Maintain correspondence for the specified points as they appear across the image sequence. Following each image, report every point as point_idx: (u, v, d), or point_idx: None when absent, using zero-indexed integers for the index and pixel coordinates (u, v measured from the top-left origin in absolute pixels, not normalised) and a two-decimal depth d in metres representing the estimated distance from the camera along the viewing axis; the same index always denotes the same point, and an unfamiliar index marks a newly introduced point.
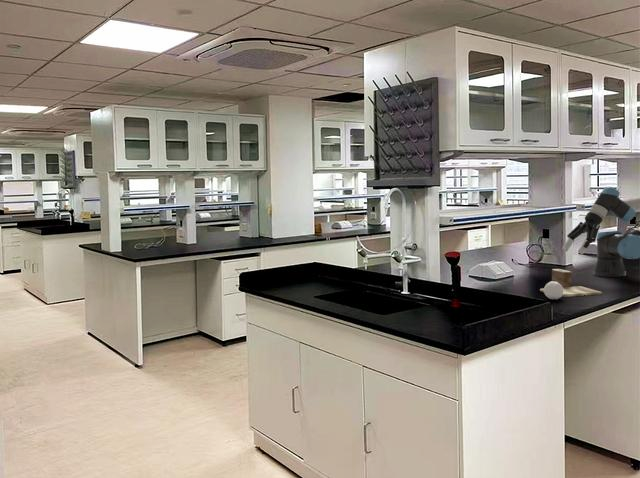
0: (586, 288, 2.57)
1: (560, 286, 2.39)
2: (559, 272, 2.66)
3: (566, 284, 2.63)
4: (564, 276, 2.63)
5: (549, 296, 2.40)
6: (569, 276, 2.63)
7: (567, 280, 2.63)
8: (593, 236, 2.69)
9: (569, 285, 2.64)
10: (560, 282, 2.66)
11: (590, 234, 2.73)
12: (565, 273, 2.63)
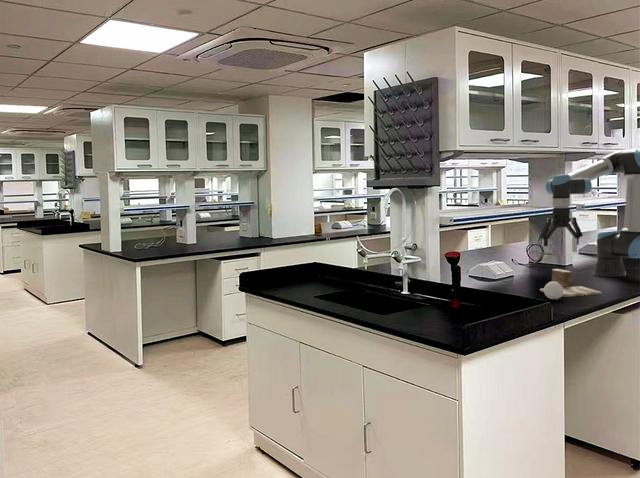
0: (586, 288, 2.57)
1: (560, 286, 2.39)
2: (559, 272, 2.66)
3: (566, 284, 2.63)
4: (564, 276, 2.63)
5: (549, 296, 2.40)
6: (569, 276, 2.63)
7: (567, 280, 2.63)
8: None
9: (569, 285, 2.64)
10: (560, 282, 2.66)
11: None
12: (565, 273, 2.63)
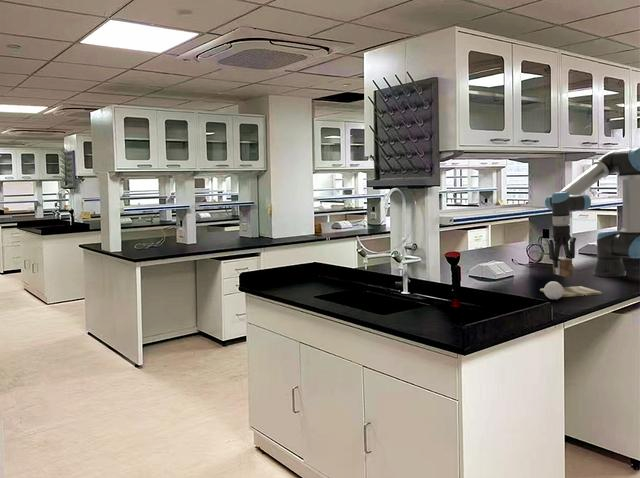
0: (586, 288, 2.57)
1: (560, 286, 2.39)
2: (560, 260, 2.66)
3: (567, 272, 2.63)
4: (565, 264, 2.63)
5: (549, 296, 2.40)
6: (570, 263, 2.63)
7: (568, 268, 2.63)
8: None
9: (570, 272, 2.63)
10: (561, 270, 2.65)
11: None
12: (566, 261, 2.63)
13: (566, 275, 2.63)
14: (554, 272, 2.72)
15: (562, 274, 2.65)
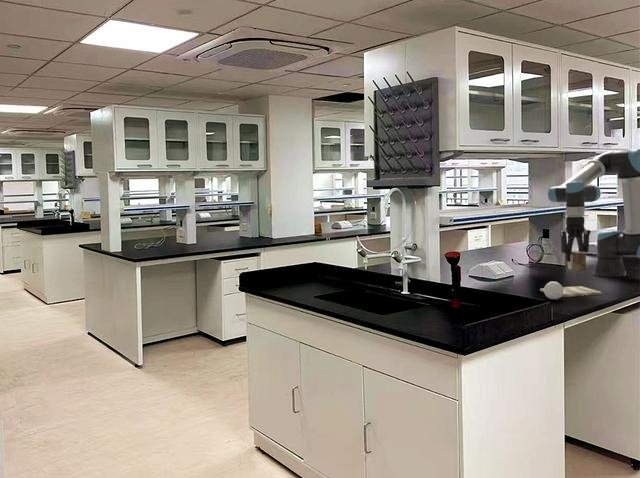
0: (586, 288, 2.57)
1: (560, 286, 2.39)
2: (573, 253, 2.51)
3: (580, 266, 2.48)
4: (578, 257, 2.48)
5: (549, 296, 2.40)
6: (584, 257, 2.48)
7: (581, 261, 2.48)
8: None
9: (583, 267, 2.49)
10: (574, 264, 2.51)
11: None
12: (579, 254, 2.48)
13: (579, 269, 2.49)
14: (566, 266, 2.57)
15: (575, 268, 2.50)
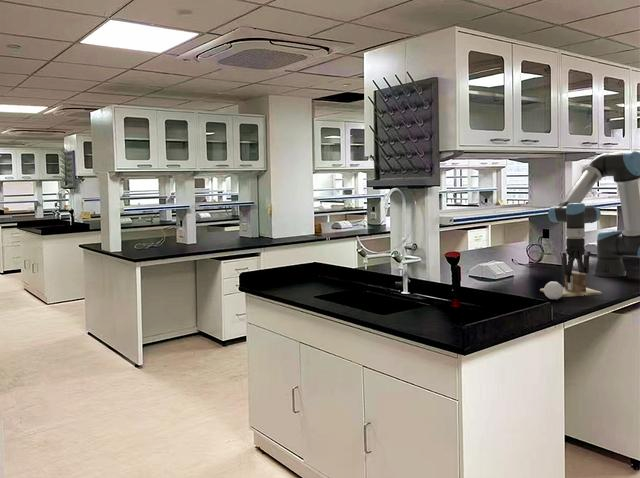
0: (586, 288, 2.57)
1: (560, 286, 2.39)
2: (573, 274, 2.52)
3: (580, 287, 2.49)
4: (578, 278, 2.49)
5: (549, 296, 2.40)
6: (584, 278, 2.49)
7: (581, 283, 2.49)
8: None
9: (583, 288, 2.50)
10: (574, 285, 2.51)
11: None
12: (579, 275, 2.49)
13: (579, 290, 2.49)
14: (566, 287, 2.58)
15: (575, 289, 2.51)
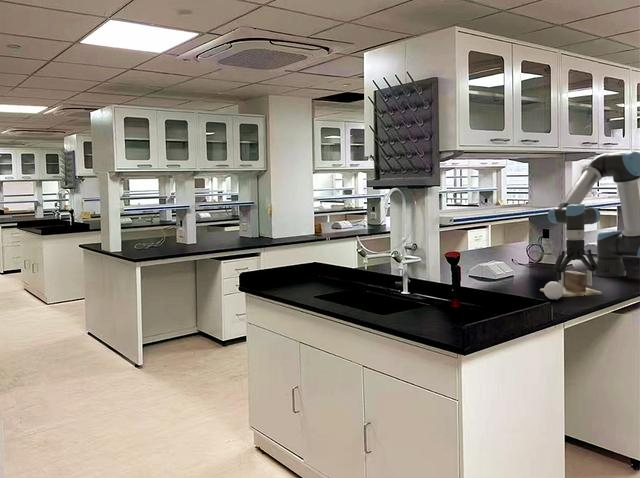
0: (586, 288, 2.57)
1: (560, 286, 2.39)
2: (573, 274, 2.52)
3: (580, 287, 2.49)
4: (578, 278, 2.49)
5: (549, 296, 2.40)
6: (584, 278, 2.49)
7: (581, 283, 2.49)
8: None
9: (583, 288, 2.50)
10: (574, 285, 2.51)
11: None
12: (579, 275, 2.49)
13: (579, 290, 2.49)
14: (566, 287, 2.58)
15: (575, 289, 2.51)
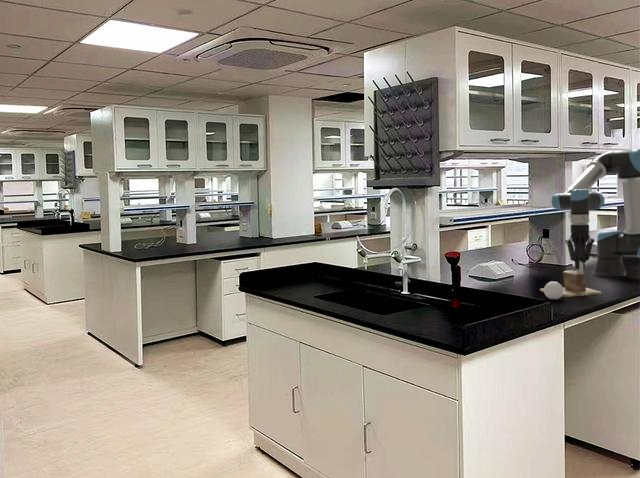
0: (586, 288, 2.57)
1: (560, 286, 2.39)
2: (571, 274, 2.52)
3: (579, 287, 2.49)
4: (577, 278, 2.49)
5: (549, 296, 2.40)
6: (583, 278, 2.49)
7: (581, 282, 2.49)
8: None
9: (583, 287, 2.49)
10: (573, 285, 2.51)
11: None
12: (578, 275, 2.49)
13: (579, 290, 2.49)
14: (566, 287, 2.58)
15: (575, 289, 2.51)
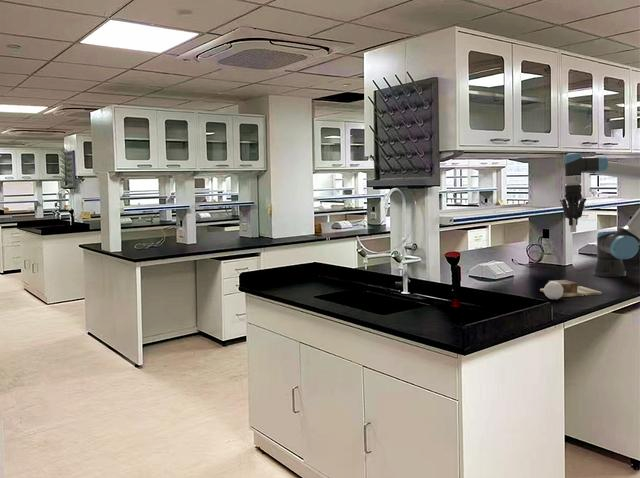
0: (586, 288, 2.57)
1: (560, 286, 2.39)
2: None
3: (572, 289, 2.49)
4: (564, 291, 2.49)
5: (549, 296, 2.40)
6: (564, 285, 2.48)
7: (568, 288, 2.49)
8: None
9: (574, 285, 2.49)
10: None
11: None
12: None
13: (576, 290, 2.49)
14: None
15: None
